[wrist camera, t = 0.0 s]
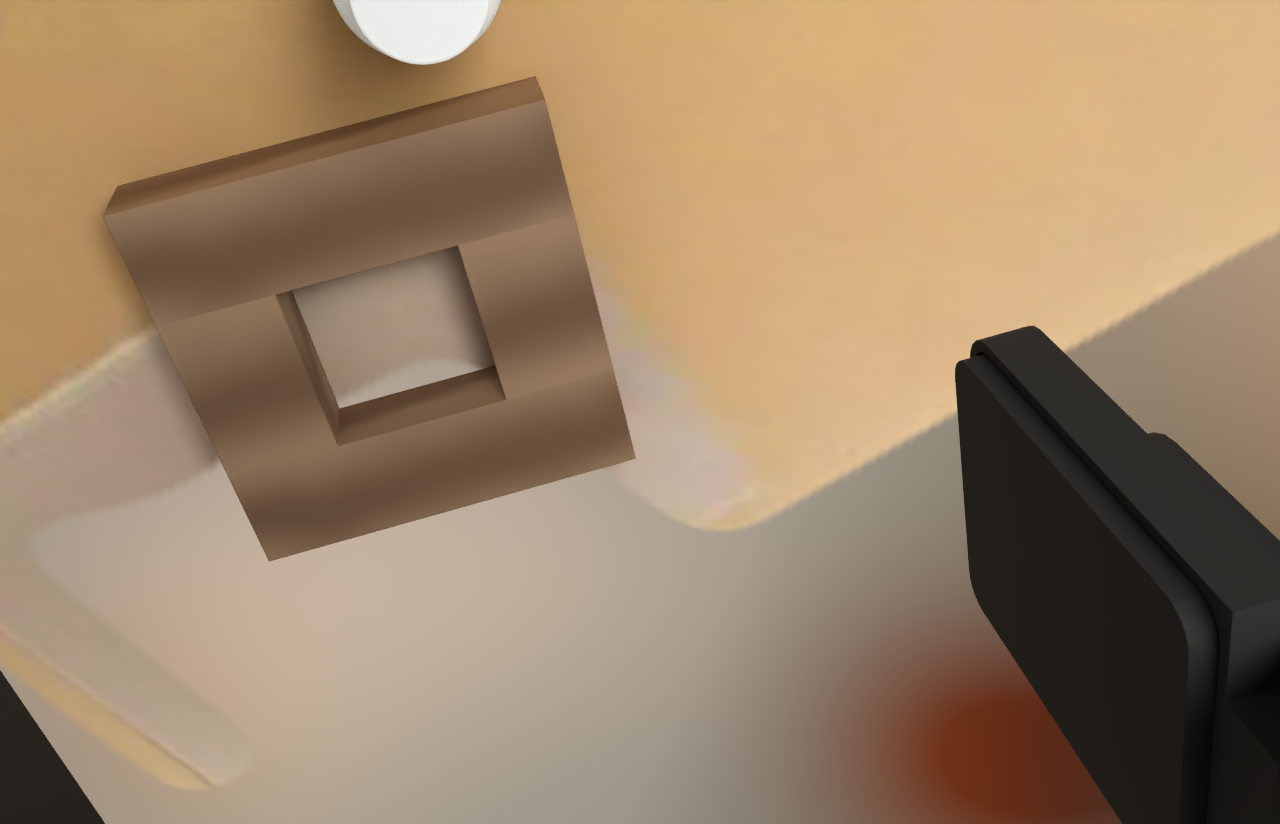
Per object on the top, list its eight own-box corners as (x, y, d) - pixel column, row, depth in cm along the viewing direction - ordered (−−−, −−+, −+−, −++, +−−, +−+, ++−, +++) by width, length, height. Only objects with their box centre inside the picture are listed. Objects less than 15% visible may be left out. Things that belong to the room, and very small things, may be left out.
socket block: (117, 186, 45) (102, 216, 43) (535, 76, 46) (545, 99, 43) (273, 519, 54) (269, 561, 51) (623, 422, 55) (635, 458, 52)
